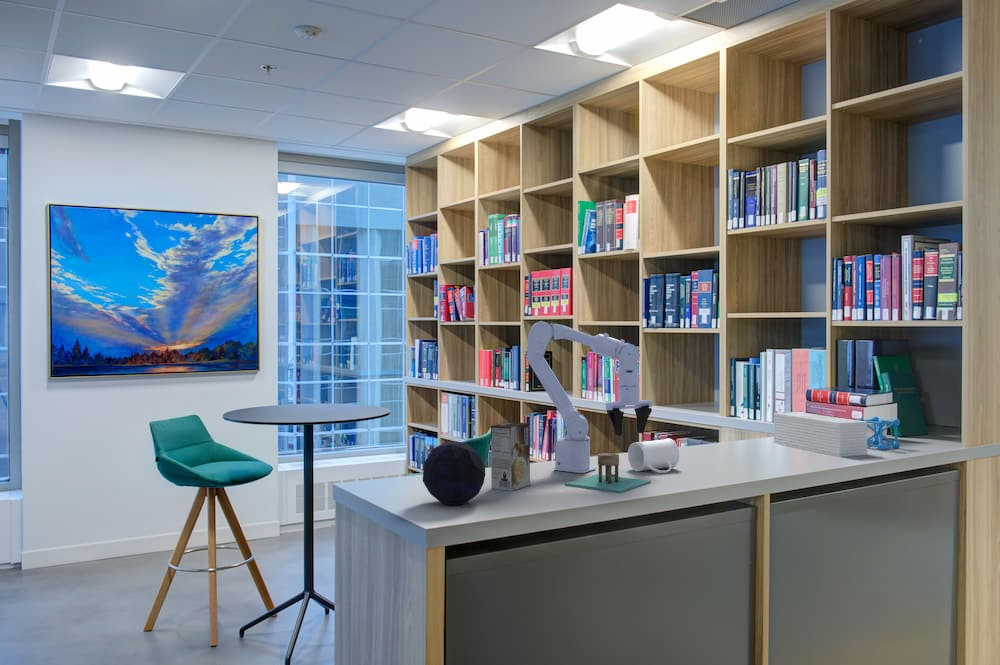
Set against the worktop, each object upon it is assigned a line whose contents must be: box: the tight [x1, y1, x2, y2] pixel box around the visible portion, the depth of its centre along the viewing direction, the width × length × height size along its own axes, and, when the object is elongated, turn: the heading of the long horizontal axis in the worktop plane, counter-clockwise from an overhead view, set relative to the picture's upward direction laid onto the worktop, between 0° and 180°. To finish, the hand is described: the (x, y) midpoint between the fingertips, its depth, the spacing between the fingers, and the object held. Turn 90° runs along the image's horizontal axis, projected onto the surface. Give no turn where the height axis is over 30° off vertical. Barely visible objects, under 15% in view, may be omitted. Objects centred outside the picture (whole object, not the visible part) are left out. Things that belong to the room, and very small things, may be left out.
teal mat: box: [564, 473, 651, 494], centre depth 204 cm, size 16×16×1 cm
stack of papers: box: [773, 411, 868, 458], centre depth 264 cm, size 32×11×11 cm, turn 18°
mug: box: [627, 437, 680, 474], centre depth 224 cm, size 12×8×12 cm
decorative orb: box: [422, 441, 486, 506], centre depth 182 cm, size 14×15×15 cm
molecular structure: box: [856, 415, 901, 451], centre depth 265 cm, size 10×10×10 cm
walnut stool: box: [597, 452, 620, 484], centre depth 204 cm, size 5×5×7 cm
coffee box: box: [490, 421, 531, 492], centre depth 201 cm, size 9×6×16 cm
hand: (629, 434), depth 223 cm, fingers open, 7 cm apart
